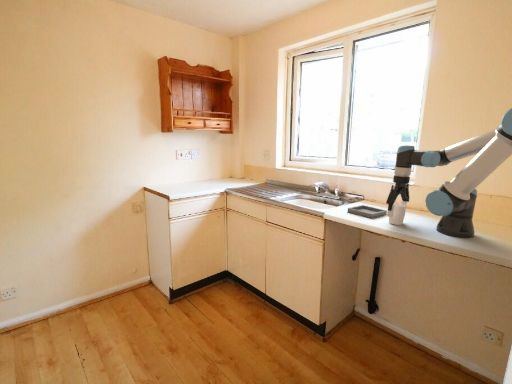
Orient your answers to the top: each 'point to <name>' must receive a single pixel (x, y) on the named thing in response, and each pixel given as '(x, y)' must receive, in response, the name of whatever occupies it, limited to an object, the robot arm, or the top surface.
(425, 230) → the top surface
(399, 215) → the white cup
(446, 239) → the top surface
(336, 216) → the top surface
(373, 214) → the tray
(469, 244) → the top surface
